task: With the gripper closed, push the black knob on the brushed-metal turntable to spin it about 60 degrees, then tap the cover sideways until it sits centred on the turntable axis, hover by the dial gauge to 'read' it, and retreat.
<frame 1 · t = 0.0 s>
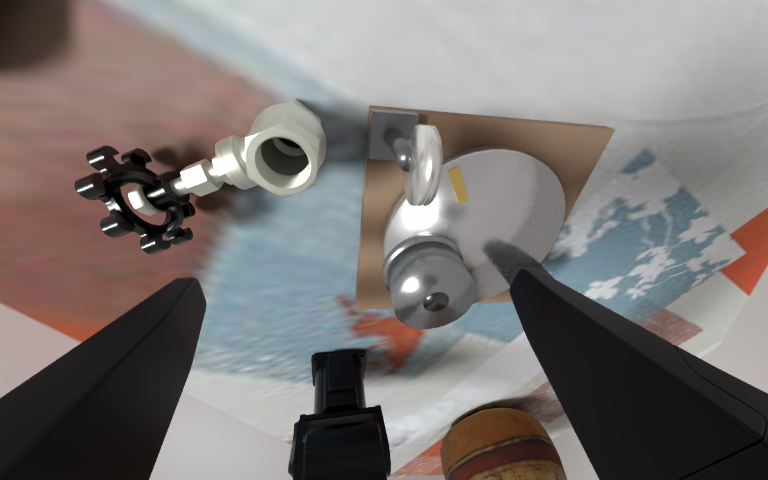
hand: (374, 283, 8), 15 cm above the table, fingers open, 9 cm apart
base board: (463, 226, 26), on the table
cover: (421, 267, 24), point 3 cm above the table, touching turntable
turntable: (480, 249, 23), point 4 cm above the table, hinge at 0.0°, touching cover
ceramic pitcher: (481, 420, 55), on the table
dial gauge: (391, 134, 19), resting on base board
valve: (243, 148, 19), on the table
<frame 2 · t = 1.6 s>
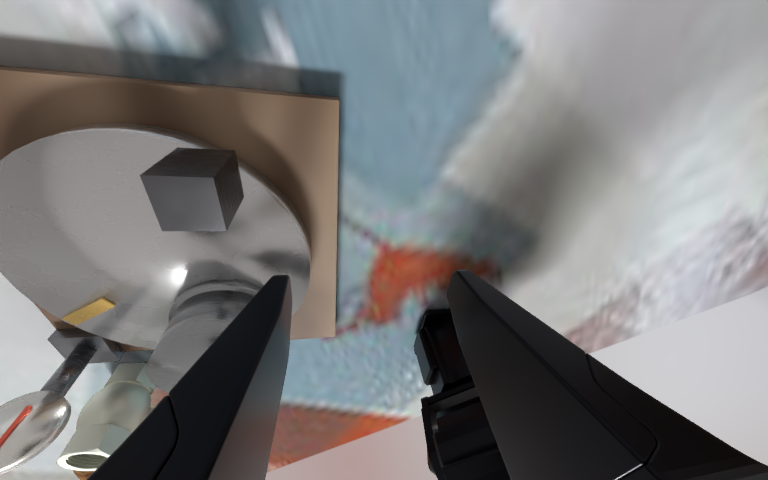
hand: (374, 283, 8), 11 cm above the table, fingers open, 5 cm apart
base board: (189, 243, 18), on the table
cover: (232, 317, 19), point 3 cm above the table, touching turntable
turntable: (163, 281, 16), point 4 cm above the table, hinge at 0.0°, touching cover
dial gauge: (92, 341, 21), resting on base board
valve: (172, 389, 28), on the table
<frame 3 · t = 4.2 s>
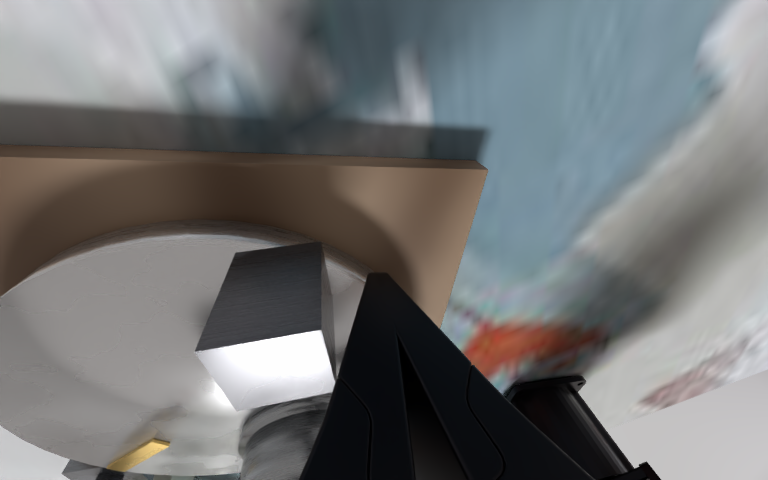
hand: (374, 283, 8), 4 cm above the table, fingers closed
base board: (249, 342, 14), on the table
cover: (315, 429, 15), point 3 cm above the table, touching turntable
turntable: (230, 420, 11), point 4 cm above the table, hinge at 7.6°, touching cover, gripper
dial gauge: (118, 461, 16), resting on base board
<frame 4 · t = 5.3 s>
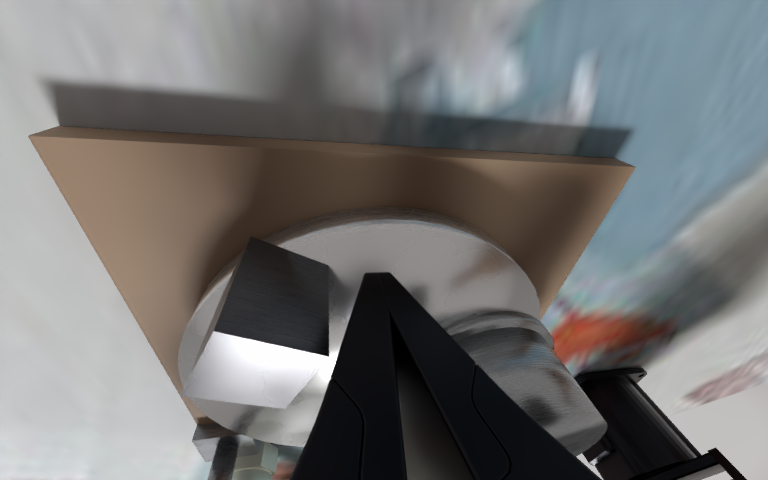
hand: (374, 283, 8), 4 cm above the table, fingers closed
base board: (368, 324, 15), on the table
cover: (476, 359, 14), point 3 cm above the table, touching turntable
turntable: (378, 392, 12), point 4 cm above the table, hinge at 62.1°, touching cover, gripper
dial gauge: (231, 432, 17), resting on base board
valve: (280, 460, 24), on the table
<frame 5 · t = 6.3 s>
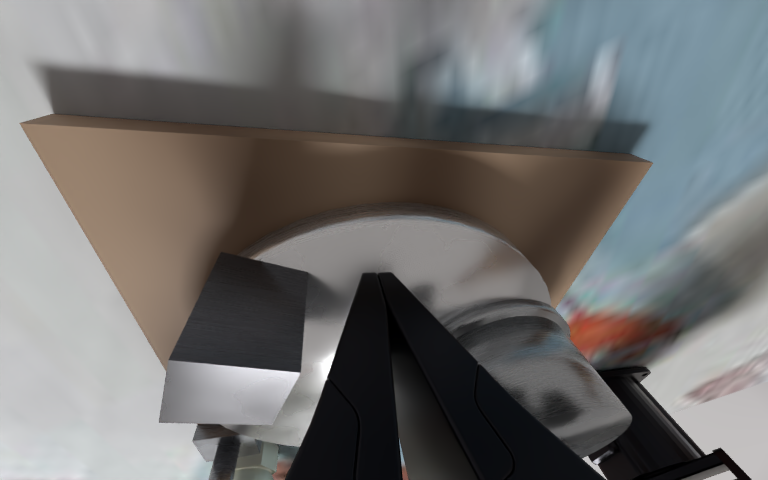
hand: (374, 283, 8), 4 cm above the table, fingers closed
base board: (373, 323, 15), on the table
cover: (487, 351, 13), point 3 cm above the table, touching turntable
turntable: (385, 393, 12), point 4 cm above the table, hinge at 69.9°, touching cover
dial gauge: (232, 432, 17), resting on base board
valve: (280, 459, 24), on the table
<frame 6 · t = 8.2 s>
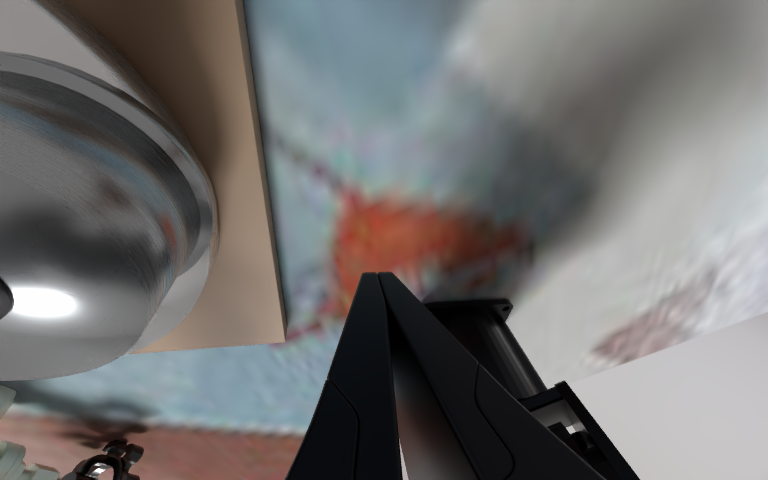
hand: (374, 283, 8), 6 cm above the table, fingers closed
cover: (85, 191, 8), point 3 cm above the table, touching turntable
valve: (48, 412, 19), on the table
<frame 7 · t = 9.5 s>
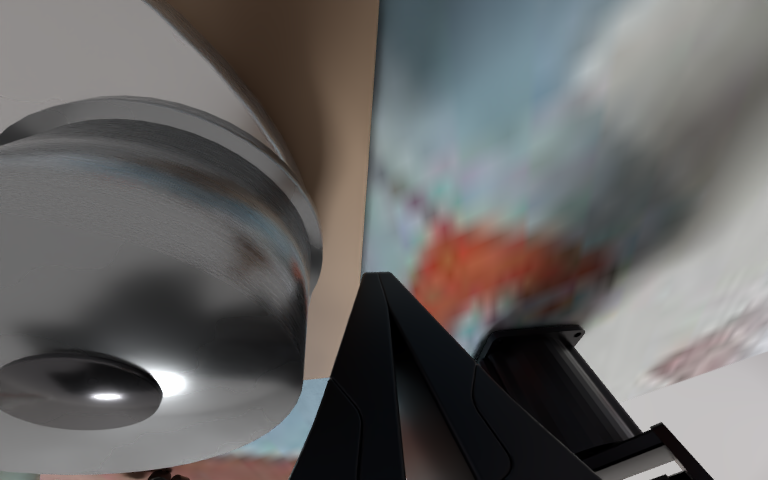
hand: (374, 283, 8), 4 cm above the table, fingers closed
base board: (73, 217, 9), on the table
cover: (188, 241, 8), point 3 cm above the table, touching gripper
valve: (95, 445, 18), on the table
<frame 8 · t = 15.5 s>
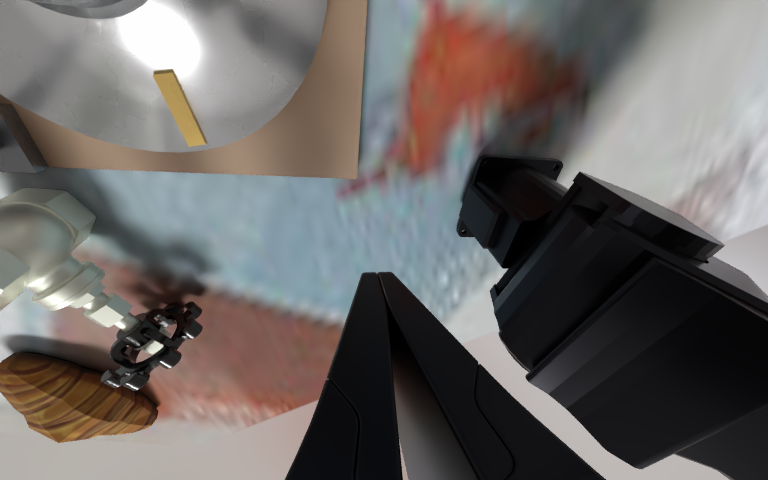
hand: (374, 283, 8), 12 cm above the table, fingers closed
croissant: (100, 379, 27), on the table
valve: (117, 256, 20), on the table
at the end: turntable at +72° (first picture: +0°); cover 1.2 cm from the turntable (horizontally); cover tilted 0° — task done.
